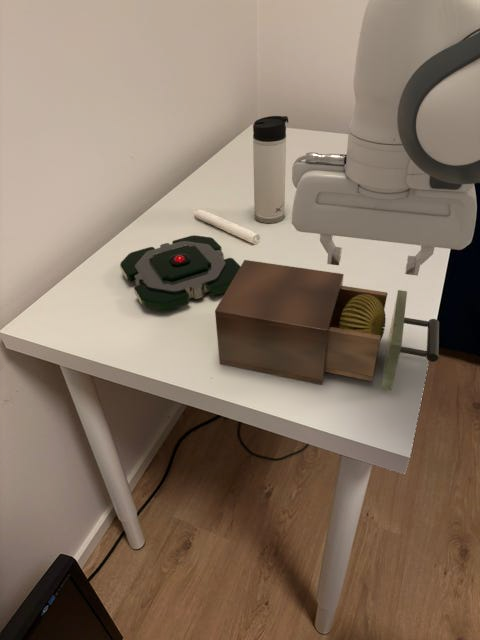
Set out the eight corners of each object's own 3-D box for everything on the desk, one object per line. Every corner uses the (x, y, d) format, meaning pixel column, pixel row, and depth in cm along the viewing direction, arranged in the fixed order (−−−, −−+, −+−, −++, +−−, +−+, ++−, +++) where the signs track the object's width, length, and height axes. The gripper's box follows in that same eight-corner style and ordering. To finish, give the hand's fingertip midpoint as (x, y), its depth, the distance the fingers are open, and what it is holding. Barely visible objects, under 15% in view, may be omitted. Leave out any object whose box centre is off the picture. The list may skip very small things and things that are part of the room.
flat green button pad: (251, 288, 82) (250, 266, 79) (150, 322, 76) (145, 299, 73) (207, 242, 95) (205, 221, 92) (117, 268, 89) (112, 246, 86)
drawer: (431, 340, 69) (444, 296, 64) (429, 398, 61) (443, 353, 56) (306, 318, 74) (308, 276, 69) (288, 370, 66) (290, 326, 61)
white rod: (190, 217, 103) (189, 207, 101) (197, 214, 104) (196, 203, 102) (252, 246, 93) (252, 235, 91) (260, 241, 94) (259, 231, 92)
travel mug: (286, 223, 99) (289, 122, 87) (254, 224, 100) (252, 124, 87) (285, 209, 104) (287, 112, 91) (254, 210, 104) (252, 113, 92)
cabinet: (337, 326, 74) (343, 273, 68) (322, 384, 65) (327, 330, 58) (246, 310, 78) (244, 259, 71) (219, 363, 68) (214, 310, 62)
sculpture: (364, 337, 69) (362, 284, 66) (391, 342, 67) (390, 287, 64) (335, 360, 64) (331, 303, 61) (362, 367, 61) (360, 308, 58)
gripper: (286, 161, 52) (284, 269, 61) (493, 177, 47) (459, 293, 55) (298, 141, 57) (295, 244, 65) (489, 153, 51) (457, 264, 60)
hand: (371, 267), depth 60 cm, fingers open, 8 cm apart
